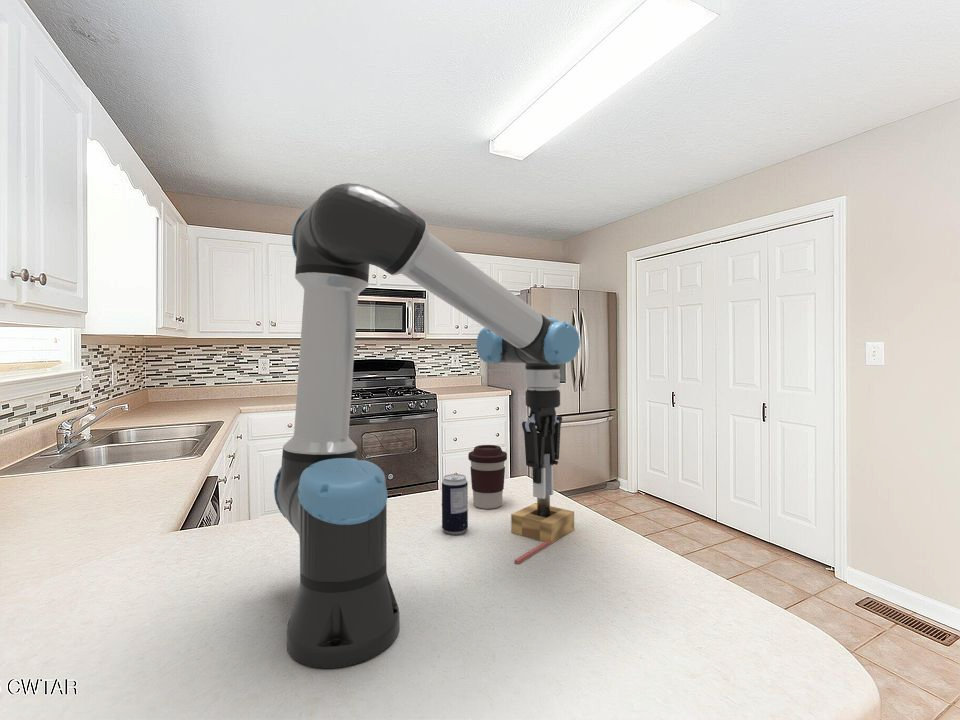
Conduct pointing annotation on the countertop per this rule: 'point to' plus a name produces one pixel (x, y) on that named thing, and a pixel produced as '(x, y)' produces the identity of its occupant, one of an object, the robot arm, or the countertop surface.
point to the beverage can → (454, 504)
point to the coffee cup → (487, 475)
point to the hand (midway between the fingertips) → (543, 495)
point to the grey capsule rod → (544, 504)
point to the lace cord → (532, 552)
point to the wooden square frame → (542, 523)
